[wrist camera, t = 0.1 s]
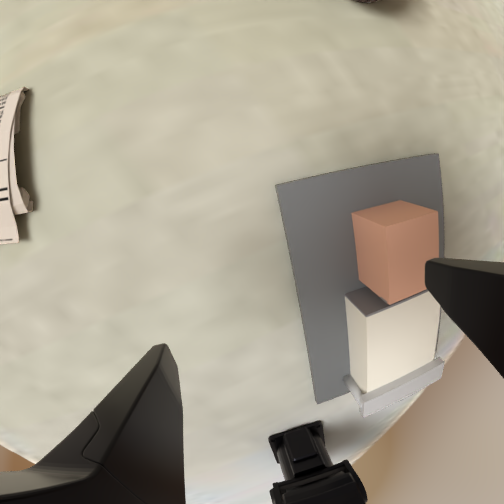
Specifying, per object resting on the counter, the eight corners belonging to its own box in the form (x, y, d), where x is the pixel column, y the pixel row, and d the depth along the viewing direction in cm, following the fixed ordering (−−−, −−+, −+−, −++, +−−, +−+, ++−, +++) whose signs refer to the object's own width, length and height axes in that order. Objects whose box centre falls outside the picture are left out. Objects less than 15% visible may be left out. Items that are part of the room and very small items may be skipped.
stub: (404, 263, 26) (438, 284, 21) (358, 280, 25) (389, 305, 21) (400, 200, 24) (438, 211, 19) (351, 212, 23) (385, 227, 19)
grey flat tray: (433, 348, 31) (459, 373, 26) (315, 400, 30) (333, 437, 25) (434, 153, 24) (477, 157, 18) (274, 185, 22) (298, 193, 17)
